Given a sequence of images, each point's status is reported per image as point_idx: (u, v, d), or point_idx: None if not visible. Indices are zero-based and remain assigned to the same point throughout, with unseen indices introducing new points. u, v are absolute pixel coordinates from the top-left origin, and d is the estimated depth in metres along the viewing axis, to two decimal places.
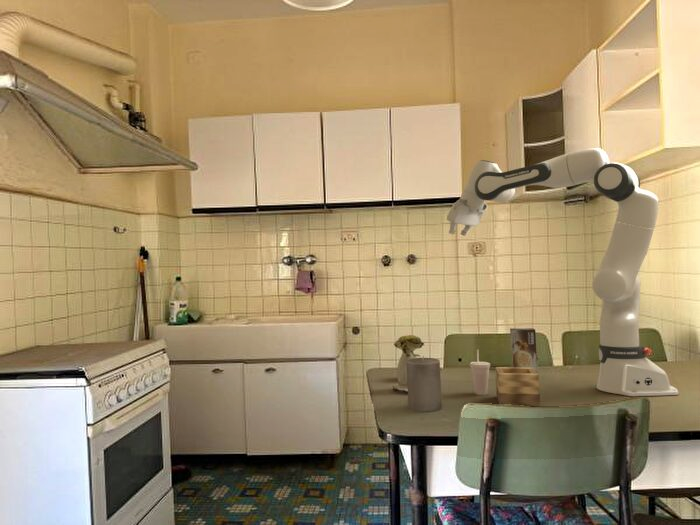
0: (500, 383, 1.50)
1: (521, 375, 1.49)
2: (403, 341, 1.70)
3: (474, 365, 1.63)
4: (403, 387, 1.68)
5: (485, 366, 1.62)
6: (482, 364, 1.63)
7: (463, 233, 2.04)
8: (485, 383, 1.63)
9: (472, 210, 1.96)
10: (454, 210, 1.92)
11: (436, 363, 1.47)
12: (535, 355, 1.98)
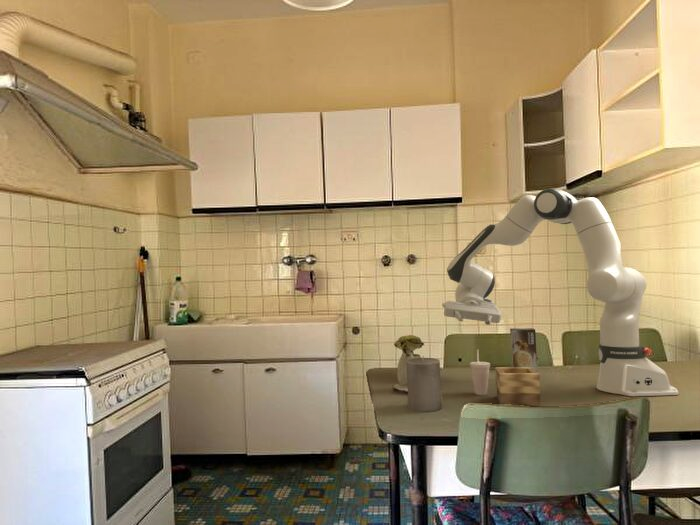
0: (501, 383, 1.50)
1: (522, 375, 1.49)
2: (403, 341, 1.70)
3: (474, 365, 1.63)
4: (403, 387, 1.68)
5: (485, 366, 1.62)
6: (482, 364, 1.63)
7: (486, 320, 1.81)
8: (485, 383, 1.63)
9: (467, 301, 1.90)
10: (444, 307, 1.90)
11: (436, 363, 1.47)
12: (535, 355, 1.98)
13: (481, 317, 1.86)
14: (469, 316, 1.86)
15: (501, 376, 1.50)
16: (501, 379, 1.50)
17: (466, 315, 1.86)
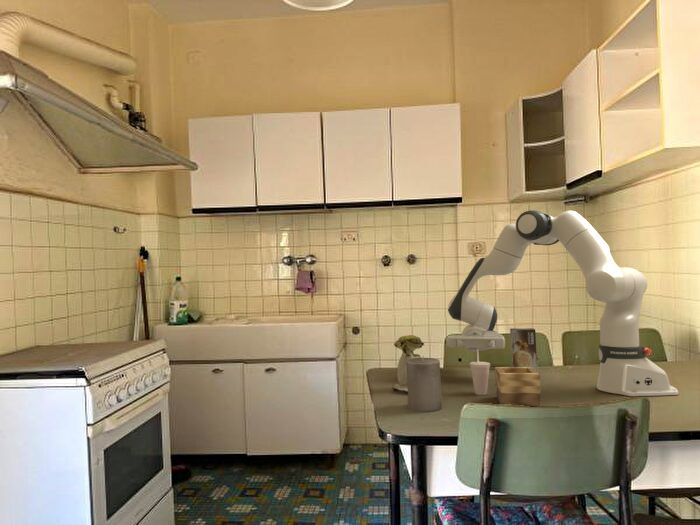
0: (502, 383, 1.50)
1: (522, 375, 1.49)
2: (403, 341, 1.70)
3: (474, 365, 1.63)
4: (403, 387, 1.68)
5: (485, 366, 1.63)
6: (482, 364, 1.63)
7: (488, 343, 1.78)
8: (485, 383, 1.63)
9: (470, 332, 1.89)
10: None
11: (436, 363, 1.47)
12: (535, 355, 1.98)
13: (485, 344, 1.82)
14: (472, 344, 1.83)
15: (501, 376, 1.50)
16: (501, 379, 1.50)
17: (469, 344, 1.83)
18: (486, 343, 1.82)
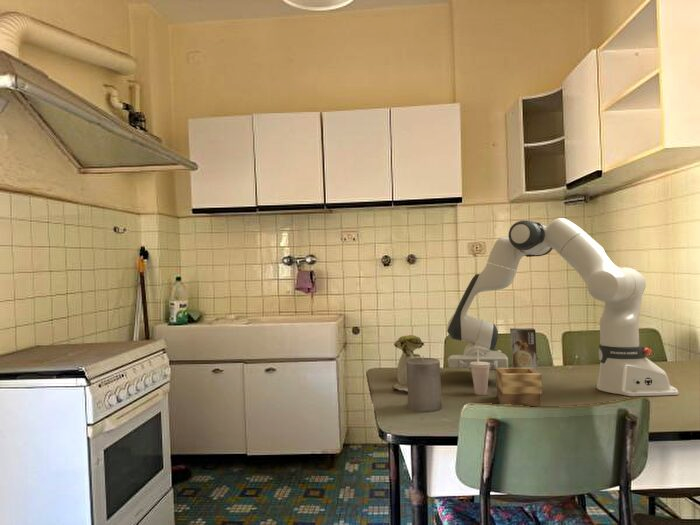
0: (504, 383, 1.49)
1: (524, 375, 1.49)
2: (403, 341, 1.70)
3: (474, 365, 1.63)
4: (403, 387, 1.68)
5: (485, 366, 1.62)
6: (482, 364, 1.63)
7: (491, 364, 1.73)
8: (485, 383, 1.63)
9: (472, 352, 1.84)
10: None
11: (436, 363, 1.47)
12: (535, 355, 1.98)
13: None
14: None
15: (503, 376, 1.49)
16: (503, 379, 1.49)
17: None
18: None
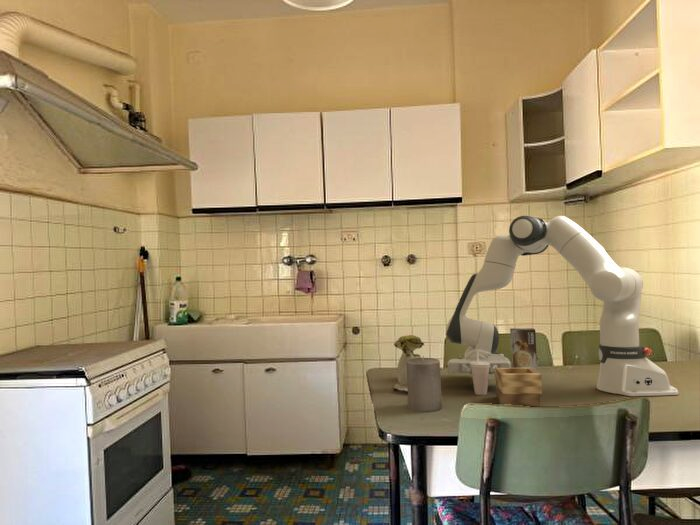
0: (503, 384, 1.49)
1: (524, 375, 1.49)
2: (403, 341, 1.70)
3: (474, 365, 1.63)
4: (403, 387, 1.68)
5: (485, 366, 1.62)
6: (482, 364, 1.63)
7: (490, 369, 1.65)
8: (485, 383, 1.63)
9: (473, 356, 1.76)
10: None
11: (436, 363, 1.47)
12: (535, 355, 1.98)
13: (489, 368, 1.69)
14: None
15: (503, 376, 1.49)
16: (503, 379, 1.49)
17: None
18: None
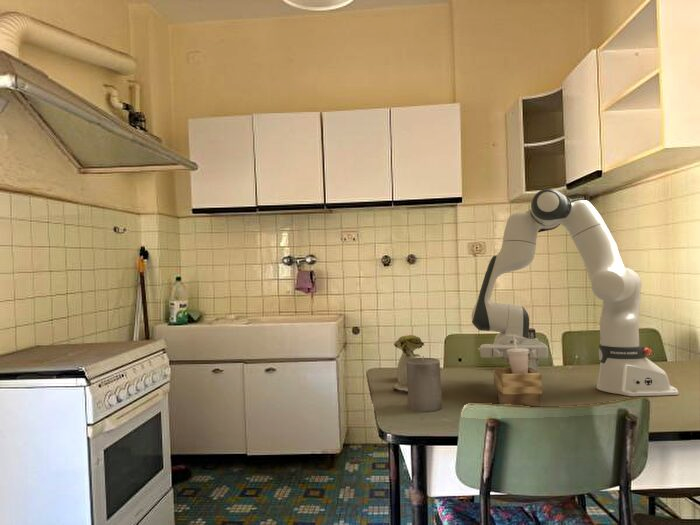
0: (504, 384, 1.49)
1: (525, 375, 1.48)
2: (403, 341, 1.70)
3: (512, 352, 1.52)
4: (403, 387, 1.68)
5: (524, 352, 1.51)
6: (520, 350, 1.52)
7: (529, 353, 1.54)
8: (525, 371, 1.52)
9: (506, 340, 1.65)
10: None
11: (436, 363, 1.47)
12: None
13: None
14: None
15: (504, 377, 1.49)
16: (504, 380, 1.49)
17: (506, 353, 1.59)
18: None
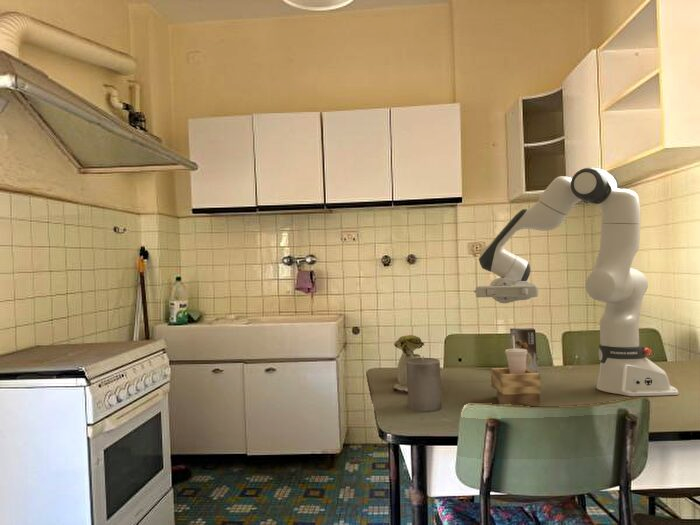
0: (504, 384, 1.48)
1: (524, 375, 1.49)
2: (403, 341, 1.70)
3: (511, 352, 1.52)
4: (403, 387, 1.68)
5: (523, 353, 1.52)
6: (519, 351, 1.52)
7: (521, 290, 1.68)
8: (523, 371, 1.52)
9: (500, 283, 1.79)
10: (476, 291, 1.79)
11: (436, 363, 1.47)
12: (535, 355, 1.98)
13: (516, 292, 1.73)
14: (503, 293, 1.74)
15: (503, 377, 1.49)
16: (503, 380, 1.49)
17: (500, 293, 1.74)
18: (518, 292, 1.73)
